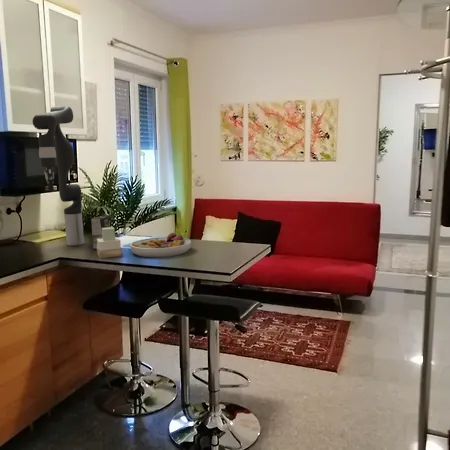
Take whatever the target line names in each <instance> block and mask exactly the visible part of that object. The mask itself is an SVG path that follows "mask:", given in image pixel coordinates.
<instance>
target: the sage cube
mask: <svg viewBox="0 0 450 450" xmlns="http://www.w3.org/2000/svg"><path fill="white" fill-rule="evenodd" d="M115 230H116V229H115V227H113V226H110V227H108V228H102V239H103V241H107V240H115V237H116V233H115V232H116V231H115Z"/></svg>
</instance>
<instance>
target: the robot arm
mask: <svg viewBox="0 0 450 450" xmlns="http://www.w3.org/2000/svg"><path fill="white" fill-rule="evenodd" d="M73 120H74V112H73V110H72V107H71V106H68V105H61V106H60V105H57V106H52V107H51V108H50V110H49V112H47V113H46V112H45V113H37V114H35V115H34V116H33V118H32V125H33V127H34V128H35V129H36V130H43V131H44V130H47V132H46V133H44V134H40V135H38V147H39V149H38V156H39V165H40V166H39V167H40V168H45V170H44V177H45V181H46V185H47V191H49V192H54V191H55V189H54V183H55V182H54V181H55V175H54V174H55V171H54V170H53V168H54V167H57V174H58V193H59V198H60V201H62V202H64V203H68V202H72V203H71V204H70V205H69V206H68V207H66V208H64V209H63V214H64V215H63V216H64V227H65V240H66V245H67V246H81V245H84V244H85V240H84V235H85V234H84V226H83V223H84V222H83V214H82V213H83V212H82V211H83V207H82V206H83V204H82V203H83V202H82V201H83V200H82V197H83V196H82V188H81V187H80V184H77V183H73V184H67V183H68V182H67V179H68V176H69V173H70V171H71V168H72V167H73V165H74V162H75V153H74V148H73V145H72V144H71V143H70V141H69V139H68V138H67V137H66V136H65V135H64V133H63V131H62V129H61V125H62V124H63V125H64V124H70V123H72V122H73Z"/></svg>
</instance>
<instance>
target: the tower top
mask: <svg viewBox="0 0 450 450" xmlns="http://www.w3.org/2000/svg"><path fill="white" fill-rule="evenodd" d="M121 244H122V243H121V239H120V238H119V237H117V236H115V240H107V241H103V239H97V247H98V249H99V250H110V249H120V248H121V249H122V246H121Z"/></svg>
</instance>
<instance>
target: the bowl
mask: <svg viewBox="0 0 450 450" xmlns="http://www.w3.org/2000/svg"><path fill="white" fill-rule="evenodd" d="M129 247H130V250H131V252H132V253H133V254H134V255H136V256H139V257H142V258H143V257H144V258H166V257H173V256H178V255H183V254H184V253H186V252H188V251H189V249H191V247H192V241H191V240H190V239H189V238H185V237H183V236H182V235H177V234H176V233H174V232H171V233H170V232H169V234H168V235H167V236H165V237H163V236H161V237H160V236H159V237H151V238H150V237H149V238H144V239H139V240H136V241H132V242H131V243H130V244H129Z"/></svg>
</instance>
